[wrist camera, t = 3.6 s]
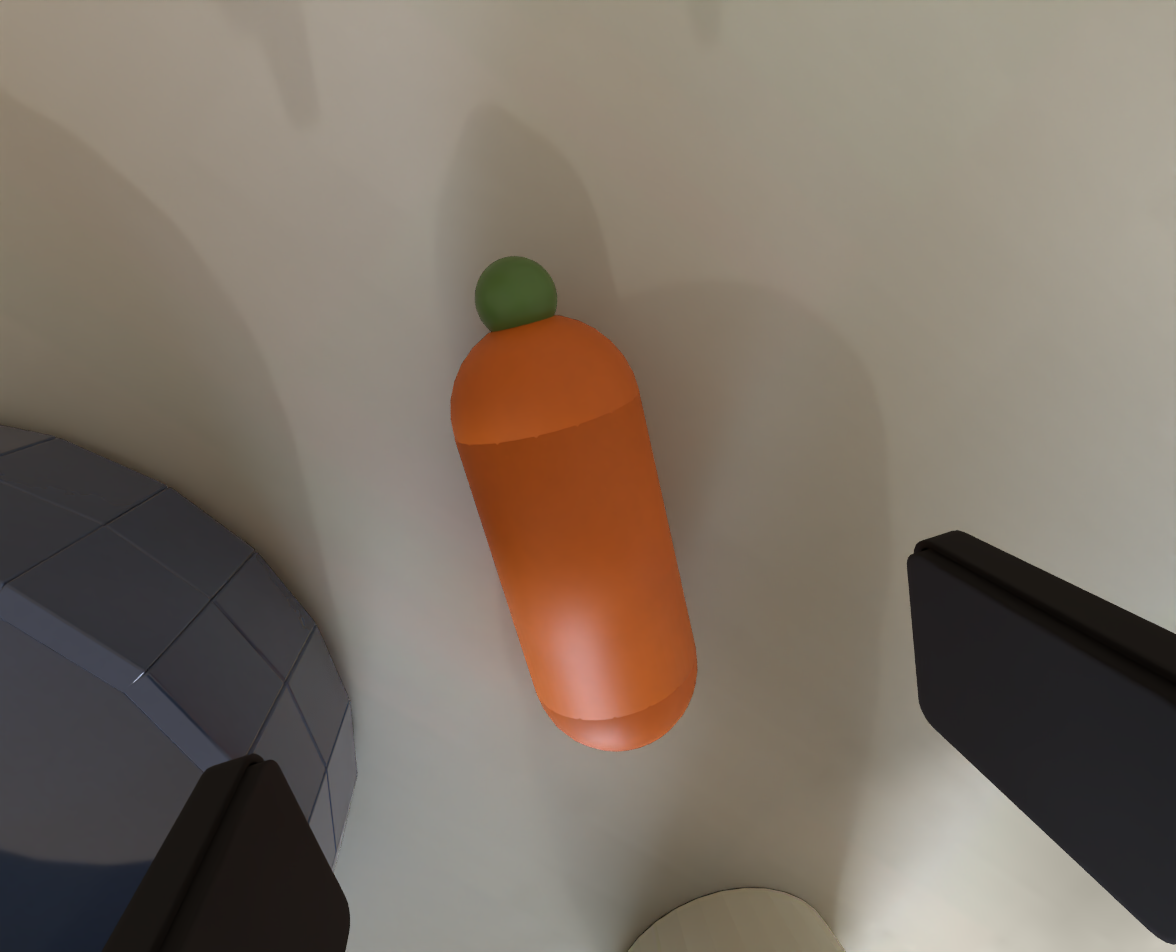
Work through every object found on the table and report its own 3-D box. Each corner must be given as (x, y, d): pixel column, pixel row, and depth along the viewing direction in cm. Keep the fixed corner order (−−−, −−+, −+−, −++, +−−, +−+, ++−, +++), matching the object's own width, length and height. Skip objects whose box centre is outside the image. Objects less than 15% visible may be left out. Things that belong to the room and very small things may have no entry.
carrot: (682, 660, 20) (736, 758, 15) (548, 702, 19) (565, 815, 15) (587, 241, 16) (623, 220, 11) (415, 284, 15) (390, 279, 11)
